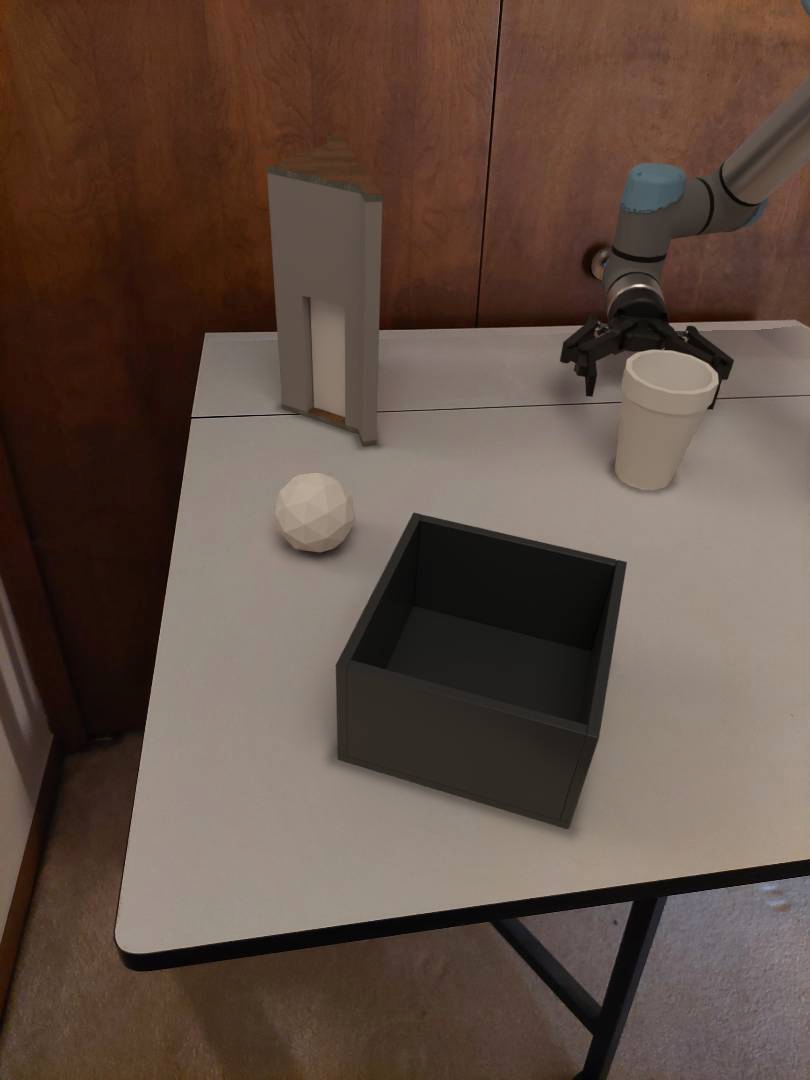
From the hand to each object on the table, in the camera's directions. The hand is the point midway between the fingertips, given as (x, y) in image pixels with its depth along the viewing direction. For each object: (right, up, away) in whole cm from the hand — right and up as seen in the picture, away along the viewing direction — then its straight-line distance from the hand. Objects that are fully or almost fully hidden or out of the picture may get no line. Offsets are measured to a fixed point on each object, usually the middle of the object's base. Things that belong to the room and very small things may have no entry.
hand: (651, 392), depth 91 cm
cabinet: (-39, 0, +9) cm, 40 cm away
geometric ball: (-37, -17, -11) cm, 42 cm away
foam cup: (-1, -9, 0) cm, 9 cm away
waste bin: (-22, -30, -26) cm, 45 cm away
